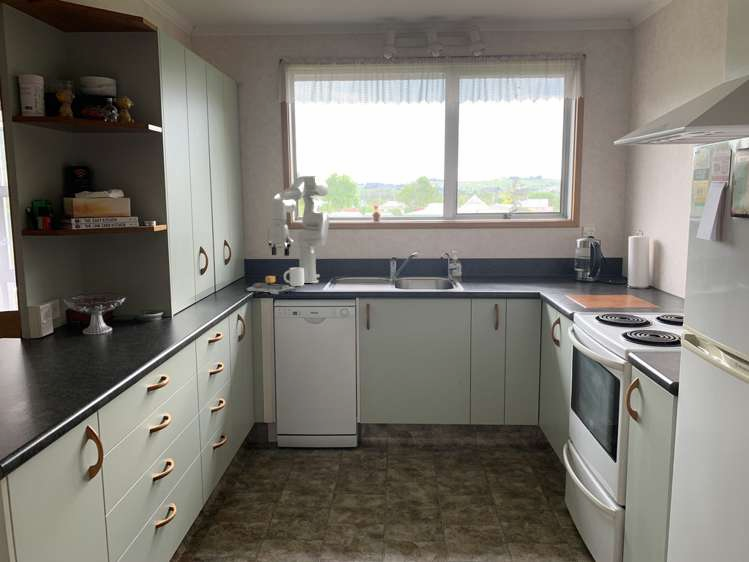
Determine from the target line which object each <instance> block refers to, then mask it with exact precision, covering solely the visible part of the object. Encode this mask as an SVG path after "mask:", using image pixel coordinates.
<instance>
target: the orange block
mask: <svg viewBox="0 0 749 562" xmlns="http://www.w3.org/2000/svg"><path fill="white" fill-rule="evenodd" d="M275 282H276V275H267V276H265V283H267V284H268V285H274V284H275Z"/></svg>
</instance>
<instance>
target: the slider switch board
mask: <svg viewBox="0 0 749 562" xmlns="http://www.w3.org/2000/svg"><path fill="white" fill-rule="evenodd" d="M294 288H295V287H291V286H290V284H280V283H279V284H277V283H274V285H268V283H267V282H265V283H264V282H256V283H253V284H252V286H250V287H247V288H246V289H247V290H248V291H264V292H270V293H271V295H281V294H280V292H281V291H285V290H289V289H294ZM248 291H247V292H248Z"/></svg>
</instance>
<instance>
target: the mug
mask: <svg viewBox="0 0 749 562" xmlns="http://www.w3.org/2000/svg"><path fill="white" fill-rule="evenodd" d="M288 274H289V280H288V279H287V275H288ZM283 279H284V282H285V283H286V284H289V286H290V285H291V286H302V287H304V286H305V284H304V268H302V267H300V266H299V267H289V269H288V270H286V271H285V272H284V274H283ZM303 285H304V286H303ZM291 286H290V287H291Z"/></svg>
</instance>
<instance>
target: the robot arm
mask: <svg viewBox="0 0 749 562" xmlns="http://www.w3.org/2000/svg"><path fill="white" fill-rule="evenodd" d="M328 193H329V186H328V183H327V182H325V180H323V179H321V178H319V177H318V176H316V175H309V176H308V175H303V176H299V177H297V178H296V179H295V181H294V182H293V183H292V185H290V187H288V188H285V189H283V190H282V191H279V192H277V193H275V195H274V196H273V197H272V199H271V200H270V203H269V208H270V211H271V218H272V219H271V220H270V222H271V224H272V225H270V231H269V238H268V239H267V240H266V241H267V243H268V245H269V247H270V248H271V255H272V256H277V254H278V253H277V247H276V246H277V245H283V246H284V249H283V250H284V256H285V257H289V256H290V249H291V247H292V245H293V243H294V239H292V238H291V237H290V231H289V226H288V224H287V213H294V212H295V211H296V209H297V207H298V206H297V202H296V201H299V200H301V199H303V202H304V209H303V214H302V221H301V223H302V226H303V227H304V228H303V229H301V230H299V231H298V232H297V235H296V239H297V245H298V252H299V253H298V255H299V257H298V258H299V267H302V268H304V283H313V284H318V283H319V279H318V278H320V277H321V276H320V274H317V268H316V267H317V266H316V265H317V261H316V260H317V259H316V257H317V256H316V251H315V249H314V247H313V246H315V247H320V246H321V247H322V246H324V245H326V243H327V239H328V231H329V227H330V217H329V215H328V214H327V213H326V212H323V211H320V212H319V210H320V209H319V208H320V205H319V203H318V200H317V199H316V197H326V196H327V194H328ZM305 228H306V229H305Z"/></svg>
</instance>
